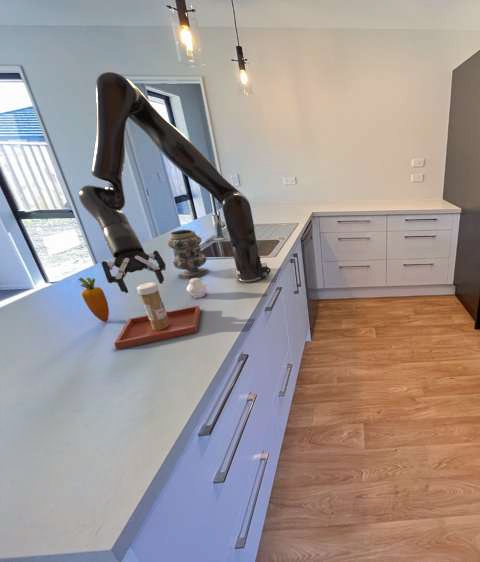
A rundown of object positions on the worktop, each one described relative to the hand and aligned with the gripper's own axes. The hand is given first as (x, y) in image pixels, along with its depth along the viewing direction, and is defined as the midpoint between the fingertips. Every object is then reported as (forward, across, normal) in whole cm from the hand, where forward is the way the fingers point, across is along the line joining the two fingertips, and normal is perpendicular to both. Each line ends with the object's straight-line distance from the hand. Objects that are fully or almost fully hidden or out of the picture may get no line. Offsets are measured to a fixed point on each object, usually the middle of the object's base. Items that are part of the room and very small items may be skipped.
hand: (144, 286), depth 88 cm
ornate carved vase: (-15, +20, +31) cm, 40 cm away
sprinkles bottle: (+13, 0, +3) cm, 13 cm away
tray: (+13, 0, +3) cm, 13 cm away
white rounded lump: (+3, +15, +13) cm, 20 cm away
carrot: (+1, -11, +15) cm, 19 cm away
